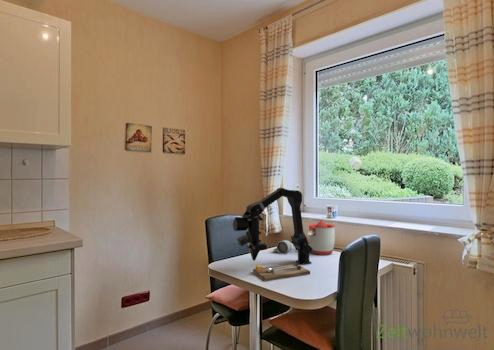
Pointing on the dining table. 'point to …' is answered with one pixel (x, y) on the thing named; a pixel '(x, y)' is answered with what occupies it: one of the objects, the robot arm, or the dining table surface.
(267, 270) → the tong arm
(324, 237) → the citrus juicer
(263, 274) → the tong board
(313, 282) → the dining table surface
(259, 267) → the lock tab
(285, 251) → the ceramic mug
